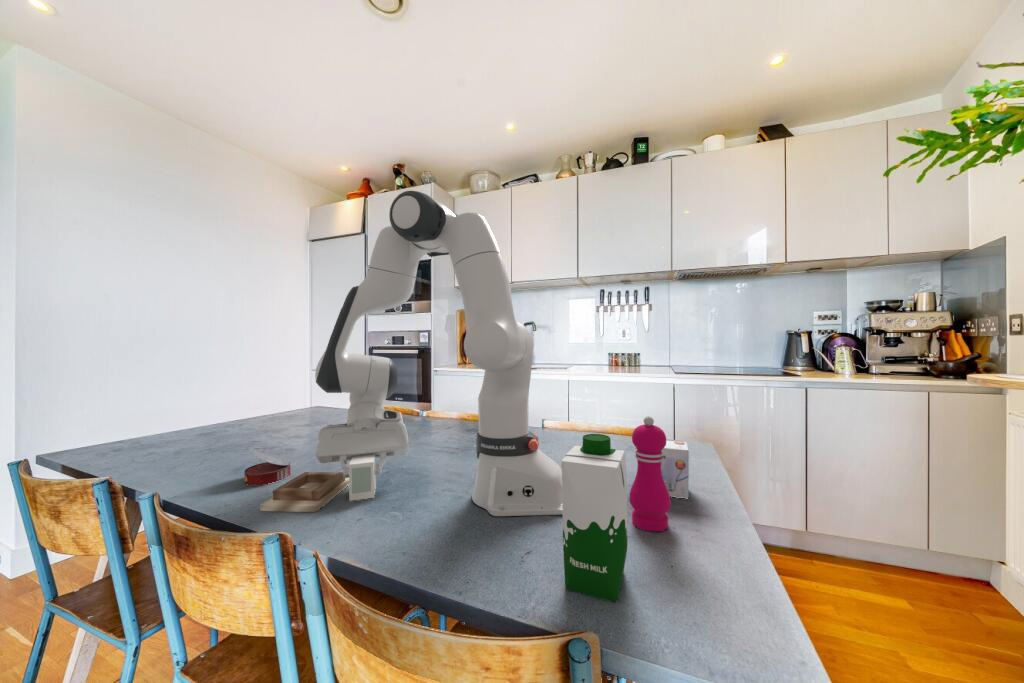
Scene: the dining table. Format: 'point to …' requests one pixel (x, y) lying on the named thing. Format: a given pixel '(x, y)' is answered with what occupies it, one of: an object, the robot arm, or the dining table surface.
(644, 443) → the pepper mill
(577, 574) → the milk carton
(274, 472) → the canned food
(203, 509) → the dining table surface
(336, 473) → the display base
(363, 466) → the picture block
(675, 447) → the light bulb box
